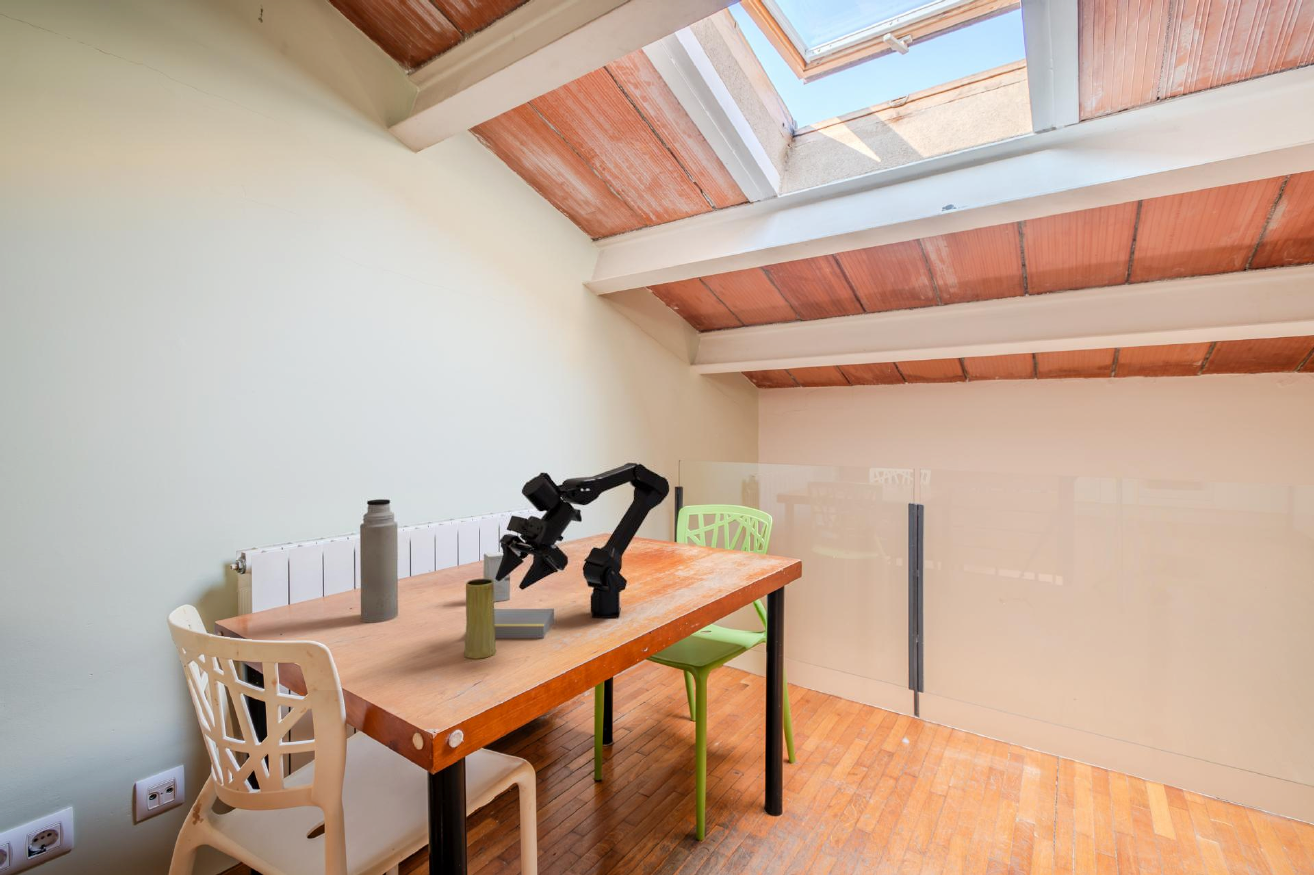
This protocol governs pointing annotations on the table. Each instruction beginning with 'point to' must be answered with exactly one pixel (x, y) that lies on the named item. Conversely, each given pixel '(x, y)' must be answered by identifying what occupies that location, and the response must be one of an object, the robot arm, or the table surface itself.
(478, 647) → the vase
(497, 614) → the gray and yellow box
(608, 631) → the table surface
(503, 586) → the skincare box
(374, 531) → the thermos bottle
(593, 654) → the table surface
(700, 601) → the table surface
